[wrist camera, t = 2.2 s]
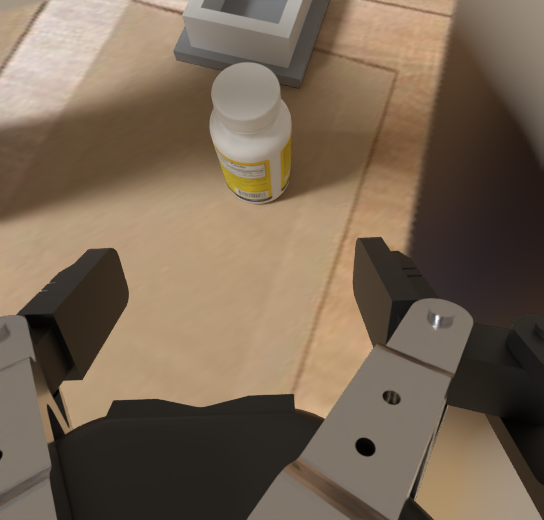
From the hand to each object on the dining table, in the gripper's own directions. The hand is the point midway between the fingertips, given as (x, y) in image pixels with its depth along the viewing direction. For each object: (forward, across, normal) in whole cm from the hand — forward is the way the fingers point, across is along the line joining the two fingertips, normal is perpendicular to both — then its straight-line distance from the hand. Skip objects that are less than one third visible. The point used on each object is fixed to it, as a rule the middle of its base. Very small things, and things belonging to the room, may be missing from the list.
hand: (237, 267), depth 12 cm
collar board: (+30, 0, -9) cm, 31 cm away
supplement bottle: (+19, 0, +2) cm, 19 cm away
